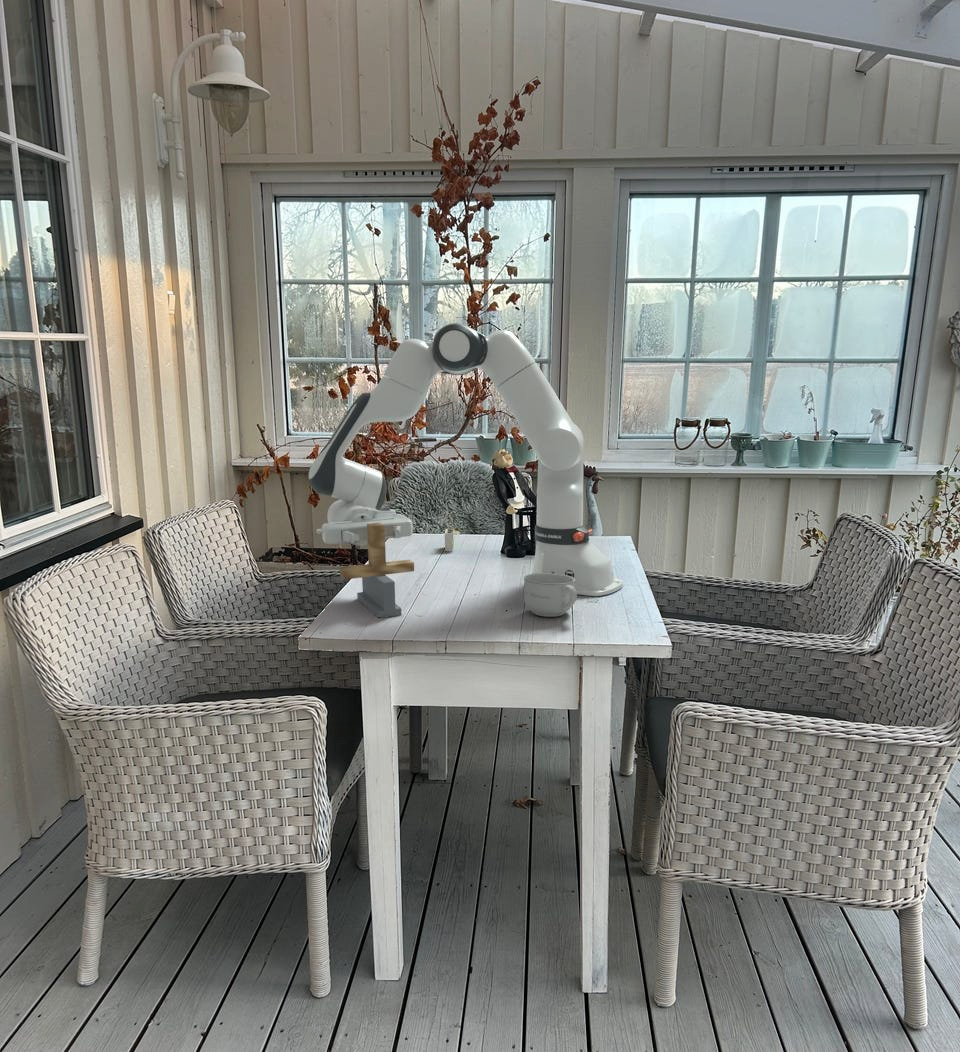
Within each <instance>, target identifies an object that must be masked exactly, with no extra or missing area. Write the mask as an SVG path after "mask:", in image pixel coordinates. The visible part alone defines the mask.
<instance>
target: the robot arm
mask: <svg viewBox="0 0 960 1052" xmlns="http://www.w3.org/2000/svg"><path fill="white" fill-rule="evenodd" d="M433 337H434V338H433V340H432V341H430V342H429V341H428V342H427V341H425V340H422V339H419V338H408V339H404V340H403V341H402V342H401V343H400V344H399V346H398V347H397V348H396V350H395V352H394V354H393V355H392V357H391V359H390V361H389V362H388V365H387V366H386V368H385V371H384V373H383V375H382V376H381V379H380V381H379V382H378V384H376V386H375V387H374V388H373V389H371V390H370V391H369V392H363V393H361V394H360V395H359V396H358V397H356V398H355V400H354V401H353V402H352V404H351V406H350V407H349V409H347V412H346V413H345V415H344V417H343V418H342V419H341V420H340V423H339V424H338V426H337V428H336V429H335V431H334V432H333V433H332V435H331V437H330V438H329V440H328V442H327V443H326V444H325V446H324V447H323V448H322V450H321V451H320V452H319V454H318V455H317V457H316V458H315V459H314V461H313V462H312V463H311V465H310V468H309V472H308V475H307V479H308V482H309V484H310V486H311V488H312V490H313V491H314V492H315V493H316V494H317V495H323V496H327V497H331V498H335V499H338V500H336V501H334V502H333V503H331V505H330V506H329V507H328V510H327V515H326V516H327V518H326V519H327V523H323V524H322V525H321V528H316V533H317V534H318V535H322V537H321V538H322V540H323V543H325V544H327V545H336V544H337V545H338V544H346V543H348V544H349V543H350V544H352V545H354V546H365V545H366V546H367V545H368V536H367V524H372V523H382V524H384V525H385V540H387V539H400V538H404V537H405V538H407V537H411V536H412V535H413V529H414V528H413V521H412V519H411V518H409V517H407V516H405V515H403V514H400V513H397V512H396V510H395V509H391V508H390V509H389V508H384V509H383V508H382V507H383V506H384V502H385V499H386V497H387V493H388V487H387V486H388V485H387V482H386V478H385V476H384V474H383V472H382V471H380V470H378V469H375V468H373V467H370V466H368V465H366V464H361V463H358V462H356V461H353V460H351V459H348V458H345V457H344V455H345V453H346V451H347V450H348V448H349V447H350V445H351V444H352V442H353V440H354V439H355V438H356V436H357V434H358V432H359V431H360V430H361V429H362V428H363V427H365V425H368V424H372V423H380V422H383V423H397V422H403V421H406V420H410V419H411V418H413V417H414V416H416V415H417V413H418V412H419V411H420V409H421V407H422V405H423V403H424V401H425V399H426V396H427V394H428V392H429V389H430V386H431V384H432V382H433V381H434V379H435V377H437V375H438V374H446V375H447V374H448V375H453V376H464V375H468V374H470V373H471V372H473V371H474V370H475V369H479V370H481V371H482V372H484V373H485V374H486V375H487V376H488V378H489V379H490V381H491V382H492V384H493V386H494V387H495V389H496V390H497V392H498V393H499V395H500V397H501V398H502V399H503V401H504V403H505V404H506V405H507V408H508V409H509V411H510V412H511V414H512V416H513V417H514V418H515V420H516V422H517V424H518V426H519V427H520V430H521V431H522V433H523V435H524V436H525V439H526V440H527V442H528V443H529V445H530V447H531V449H532V451H533V452H534V454H535V455H536V457H537V458H538V459H537V484H536V485H537V486H536V524H535V525H534V542H535V544H534V545H535V554H534V562H533V567H532V571H531V574H535V573H555V574H562V575H567V576H571V577H573V578H574V579H575V583H574V588H575V590H576V593H577V595H579V596H580V595H581V596H591V597H599V596H600V597H601V596H605V595H610V594H613V593H614V592H616V591H618V590H621V588H622V587H623V586H624V582H623V580H622V579H620V578H616V577H614V567H613V563H612V560H611V559H610V558H609V557H608V556H606V555H605V554H604V553H603V552H602V551H600V549H599V548H598V547H596V546H595V545H594V544H593V543H592V542H591V541H590V535H592V534H593V532H592V531H593V529H592V528H590V529H587V528H586V527H585V525H584V524H583V521H584V517H583V516H584V515H583V514H584V457H585V456H584V455H585V454H584V453H585V452H584V451H585V441H584V440H585V439H584V435H583V432H582V431H581V429H580V427H579V426H577V424H576V423H574V422H573V420H572V418H571V417H570V415H569V413H568V412H567V411H566V409H565V407H564V405H563V404H562V402H561V401H560V399H559V397H558V395H557V393H556V392H555V389H554V388H553V386H552V385H551V384H550V382H549V381H548V379H547V378H546V376H545V374H544V373H543V371H542V370H541V368H540V366H539V365H538V363H537V362H536V360H535V359H534V357H533V356H532V355H531V353H530V352H529V350H528V349H527V347H526V346H525V345H524V344H523V343H522V342H521V340H519V338H518V337H517V336H516V335H515V334H514V332H512V331H509V330H507V329H500V330H496V331H493V332H491V333H490V334H488V335H485V334H483V333H481V332H479V331H477V330H475V329H473V328H471V327H470V326H468V325H465V324H462V323H458V322H457V323H455V322H453V323H448V324H446V325H444V326H442V327H441V328H440V329H439V330H438V331H437V332H436V333H435V335H434V336H433Z"/></svg>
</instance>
